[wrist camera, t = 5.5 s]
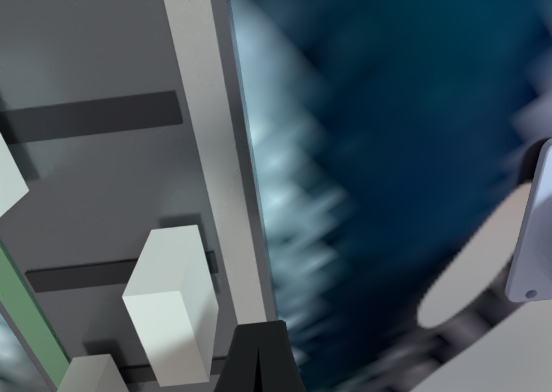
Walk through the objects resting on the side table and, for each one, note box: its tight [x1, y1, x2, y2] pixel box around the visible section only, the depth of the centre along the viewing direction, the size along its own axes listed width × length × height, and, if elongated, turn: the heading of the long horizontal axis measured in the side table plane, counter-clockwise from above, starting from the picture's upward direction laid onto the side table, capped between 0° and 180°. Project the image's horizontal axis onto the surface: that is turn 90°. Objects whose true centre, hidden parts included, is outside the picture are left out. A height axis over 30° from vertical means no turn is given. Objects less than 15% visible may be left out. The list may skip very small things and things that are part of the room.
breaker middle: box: [122, 225, 219, 387], centre depth 13 cm, size 2×4×3 cm, turn 6°
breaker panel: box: [0, 0, 279, 392], centre depth 15 cm, size 11×19×2 cm, turn 6°
